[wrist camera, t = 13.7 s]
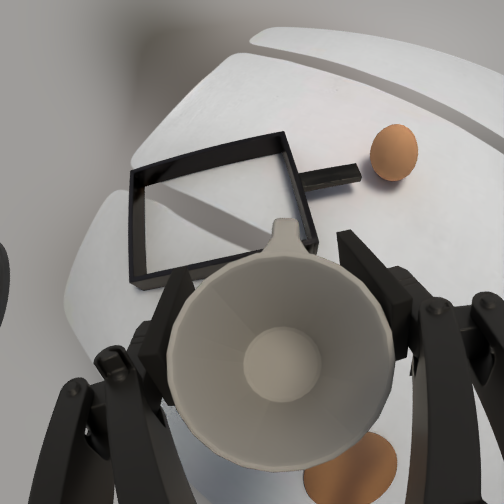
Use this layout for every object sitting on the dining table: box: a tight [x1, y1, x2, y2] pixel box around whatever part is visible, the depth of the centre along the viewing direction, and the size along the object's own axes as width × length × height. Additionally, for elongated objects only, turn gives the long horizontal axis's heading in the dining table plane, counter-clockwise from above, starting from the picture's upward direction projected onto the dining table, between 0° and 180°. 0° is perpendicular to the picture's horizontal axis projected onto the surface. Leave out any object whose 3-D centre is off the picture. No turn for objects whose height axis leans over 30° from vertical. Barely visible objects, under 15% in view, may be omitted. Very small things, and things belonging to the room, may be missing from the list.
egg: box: [370, 124, 418, 181], centre depth 31 cm, size 6×6×8 cm
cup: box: [166, 218, 396, 473], centre depth 13 cm, size 8×10×8 cm
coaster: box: [304, 432, 397, 504], centre depth 24 cm, size 10×10×1 cm
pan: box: [128, 131, 362, 291], centre depth 34 cm, size 27×15×4 cm, turn 100°
